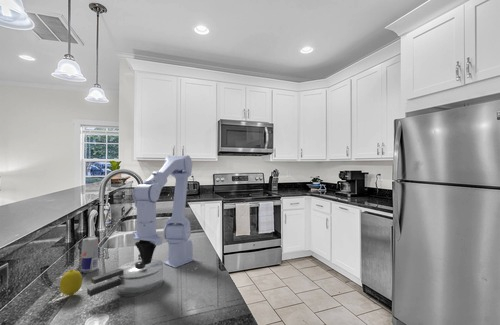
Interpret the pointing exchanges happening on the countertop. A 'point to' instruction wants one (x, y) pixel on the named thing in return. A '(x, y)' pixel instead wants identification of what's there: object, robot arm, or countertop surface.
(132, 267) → the lid
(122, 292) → the pot
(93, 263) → the energy drink
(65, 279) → the lemon
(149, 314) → the countertop surface
